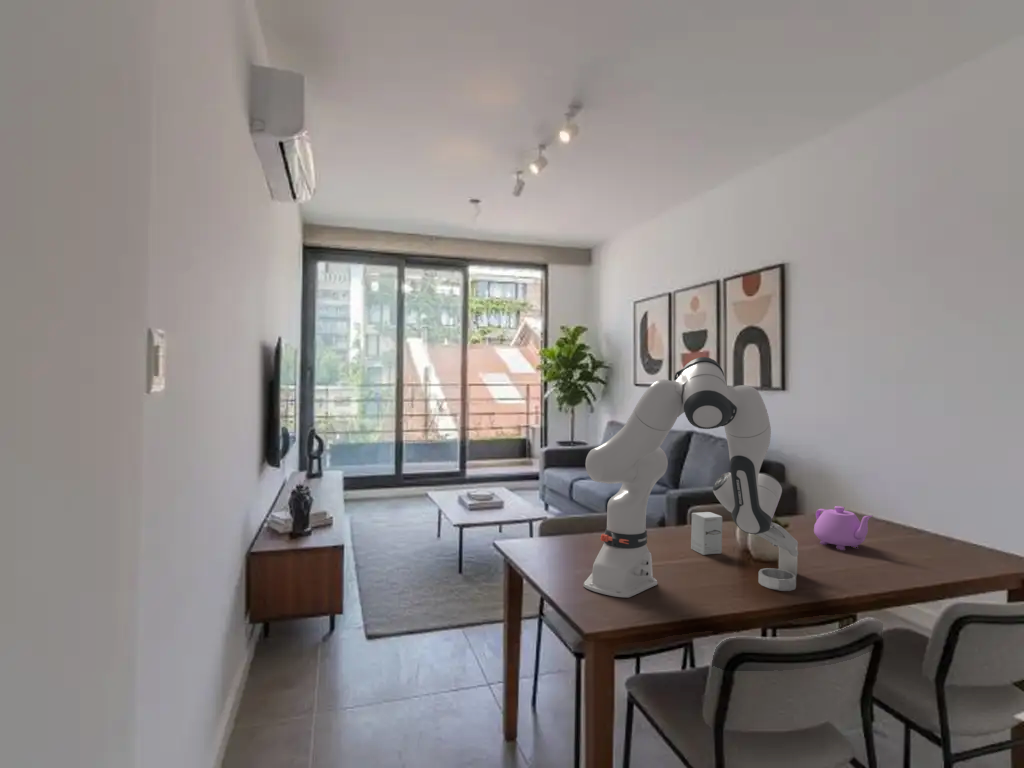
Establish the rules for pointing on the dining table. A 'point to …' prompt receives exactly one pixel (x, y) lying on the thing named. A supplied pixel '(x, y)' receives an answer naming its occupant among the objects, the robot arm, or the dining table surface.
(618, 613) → the dining table surface
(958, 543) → the dining table surface
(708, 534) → the supplement box
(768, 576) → the collar
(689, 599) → the dining table surface
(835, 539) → the teapot
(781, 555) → the white cylinder
